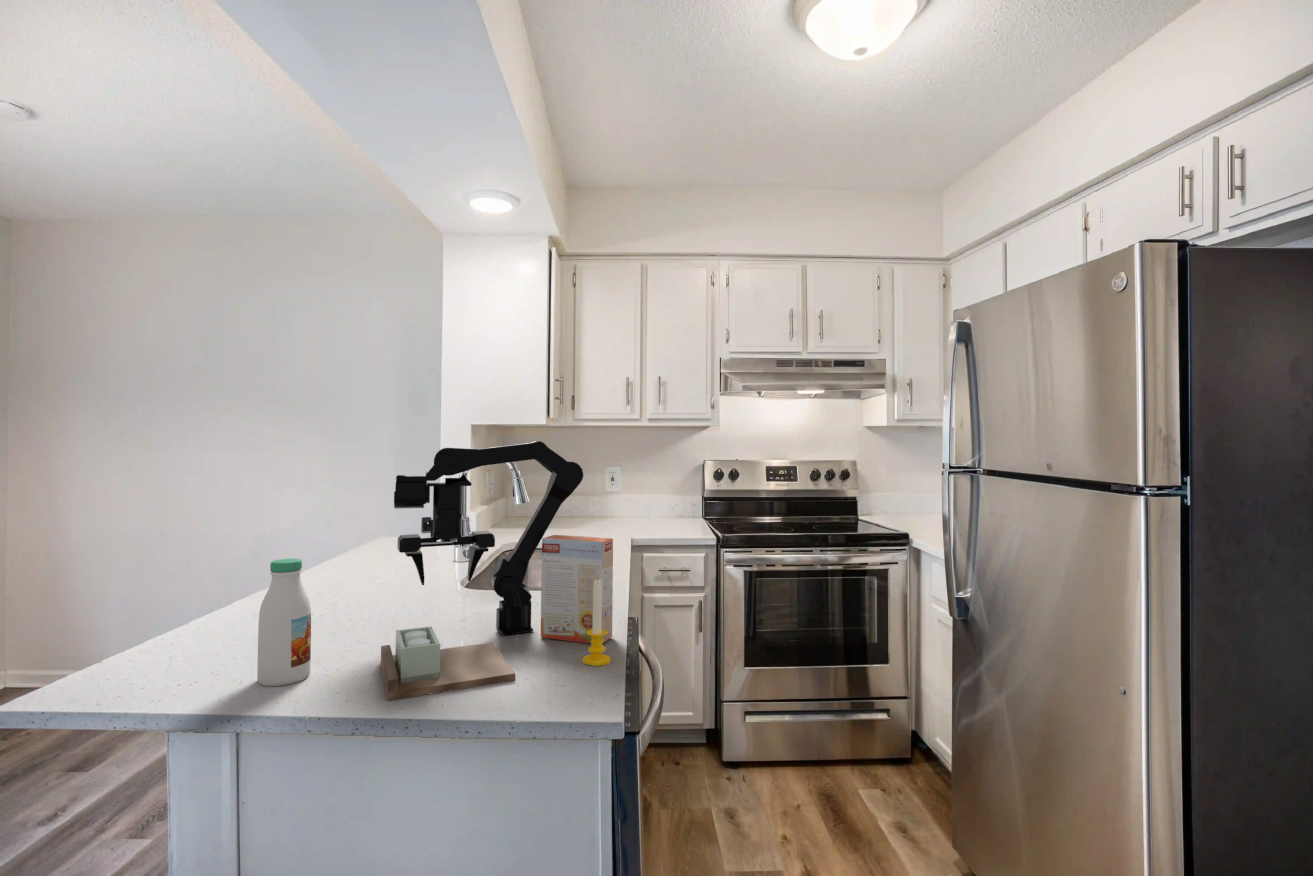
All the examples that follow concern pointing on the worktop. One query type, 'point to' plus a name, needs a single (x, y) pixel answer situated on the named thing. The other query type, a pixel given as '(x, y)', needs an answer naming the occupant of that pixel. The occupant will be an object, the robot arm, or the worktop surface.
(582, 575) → the cracker box
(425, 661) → the pale green crate
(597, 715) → the worktop surface
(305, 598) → the milk bottle
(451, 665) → the walnut shelf
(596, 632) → the candle
